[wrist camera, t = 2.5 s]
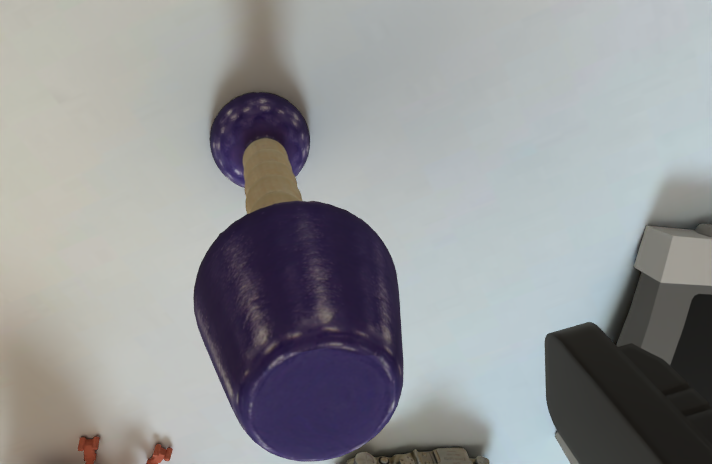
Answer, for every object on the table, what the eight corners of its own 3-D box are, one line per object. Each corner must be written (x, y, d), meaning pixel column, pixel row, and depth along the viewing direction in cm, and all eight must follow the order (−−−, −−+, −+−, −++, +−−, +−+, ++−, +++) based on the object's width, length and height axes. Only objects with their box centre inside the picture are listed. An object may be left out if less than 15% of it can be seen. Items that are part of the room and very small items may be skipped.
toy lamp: (199, 83, 23) (152, 327, 8) (313, 72, 24) (454, 279, 9) (218, 192, 25) (209, 534, 11) (322, 179, 26) (447, 482, 11)
